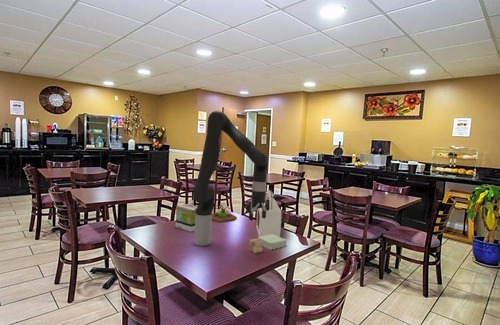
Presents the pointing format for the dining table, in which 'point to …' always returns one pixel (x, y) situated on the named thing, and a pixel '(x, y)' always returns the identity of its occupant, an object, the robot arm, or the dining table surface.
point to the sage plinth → (272, 241)
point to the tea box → (186, 217)
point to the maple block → (256, 245)
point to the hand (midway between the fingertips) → (257, 219)
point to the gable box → (269, 218)
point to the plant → (223, 216)
